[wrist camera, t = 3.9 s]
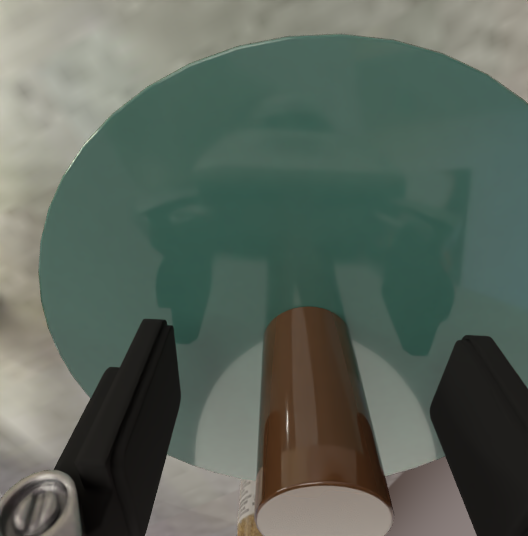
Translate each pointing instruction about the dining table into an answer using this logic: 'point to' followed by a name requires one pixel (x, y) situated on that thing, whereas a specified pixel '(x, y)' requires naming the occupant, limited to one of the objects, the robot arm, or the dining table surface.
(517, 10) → the dining table surface
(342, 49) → the lid
